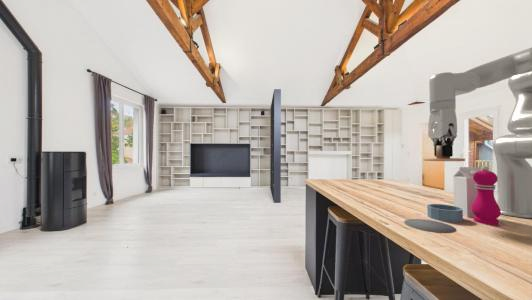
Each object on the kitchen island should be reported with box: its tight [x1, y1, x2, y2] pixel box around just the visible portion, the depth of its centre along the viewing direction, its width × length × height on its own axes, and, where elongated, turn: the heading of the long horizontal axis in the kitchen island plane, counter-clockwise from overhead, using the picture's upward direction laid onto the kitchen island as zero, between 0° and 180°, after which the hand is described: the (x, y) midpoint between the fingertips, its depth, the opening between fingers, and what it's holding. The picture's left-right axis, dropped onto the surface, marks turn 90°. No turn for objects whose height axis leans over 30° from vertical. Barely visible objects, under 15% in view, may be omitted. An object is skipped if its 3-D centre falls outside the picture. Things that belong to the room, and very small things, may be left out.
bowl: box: [426, 203, 464, 224], centre depth 81 cm, size 10×10×4 cm
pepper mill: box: [472, 165, 502, 227], centre depth 76 cm, size 7×7×20 cm
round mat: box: [403, 218, 457, 234], centre depth 73 cm, size 14×14×1 cm
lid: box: [422, 146, 466, 162], centre depth 81 cm, size 12×12×6 cm
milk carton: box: [452, 166, 482, 219], centre depth 84 cm, size 7×7×19 cm
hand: (443, 155), depth 81 cm, fingers closed on lid, 4 cm apart
